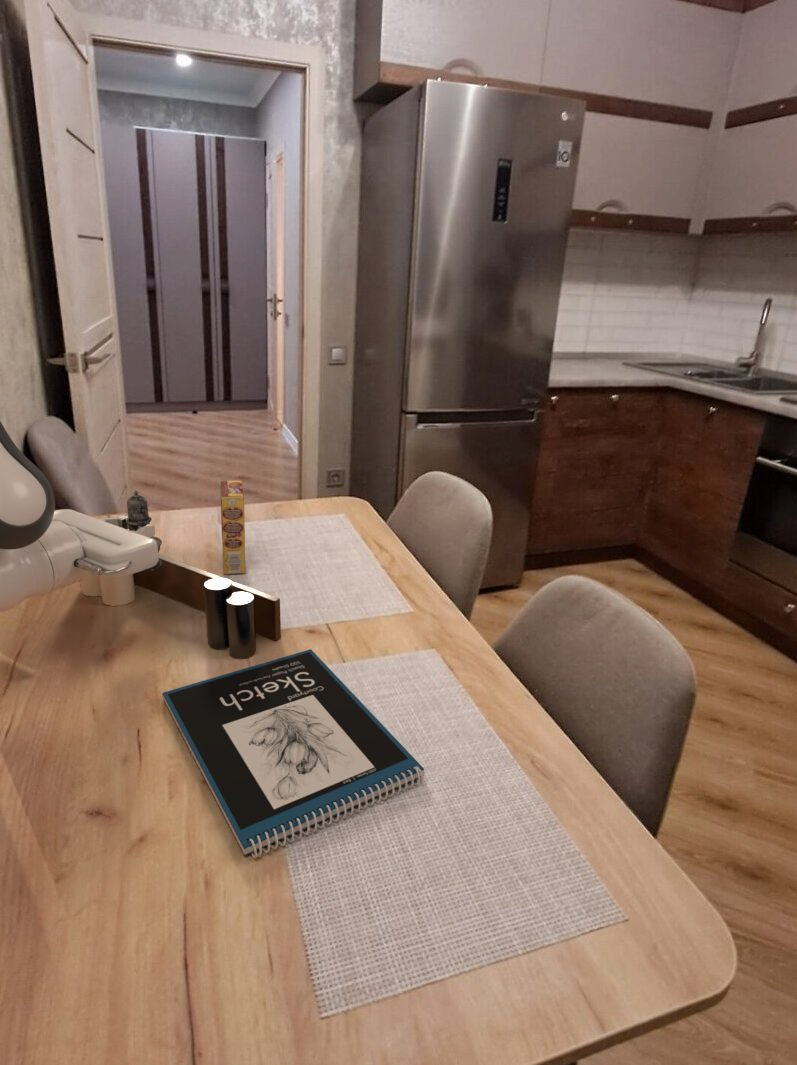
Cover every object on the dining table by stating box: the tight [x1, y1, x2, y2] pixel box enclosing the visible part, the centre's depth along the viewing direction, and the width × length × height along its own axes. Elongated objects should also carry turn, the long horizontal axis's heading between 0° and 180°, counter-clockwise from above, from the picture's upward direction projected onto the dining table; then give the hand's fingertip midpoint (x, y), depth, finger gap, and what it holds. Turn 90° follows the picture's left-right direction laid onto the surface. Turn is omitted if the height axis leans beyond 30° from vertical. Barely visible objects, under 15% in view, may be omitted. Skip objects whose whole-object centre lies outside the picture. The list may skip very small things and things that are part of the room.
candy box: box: [219, 479, 246, 575], centre depth 123 cm, size 9×4×15 cm, turn 14°
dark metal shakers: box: [204, 577, 257, 660], centre depth 98 cm, size 8×4×10 cm, turn 59°
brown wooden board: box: [133, 553, 282, 642], centre depth 110 cm, size 38×1×7 cm, turn 59°
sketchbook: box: [162, 648, 425, 860], centre depth 81 cm, size 22×30×2 cm
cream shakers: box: [79, 571, 137, 607], centre depth 111 cm, size 11×5×12 cm, turn 59°
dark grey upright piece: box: [126, 489, 163, 572], centre depth 99 cm, size 6×6×12 cm
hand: (140, 524), depth 99 cm, fingers closed on dark grey upright piece, 3 cm apart
